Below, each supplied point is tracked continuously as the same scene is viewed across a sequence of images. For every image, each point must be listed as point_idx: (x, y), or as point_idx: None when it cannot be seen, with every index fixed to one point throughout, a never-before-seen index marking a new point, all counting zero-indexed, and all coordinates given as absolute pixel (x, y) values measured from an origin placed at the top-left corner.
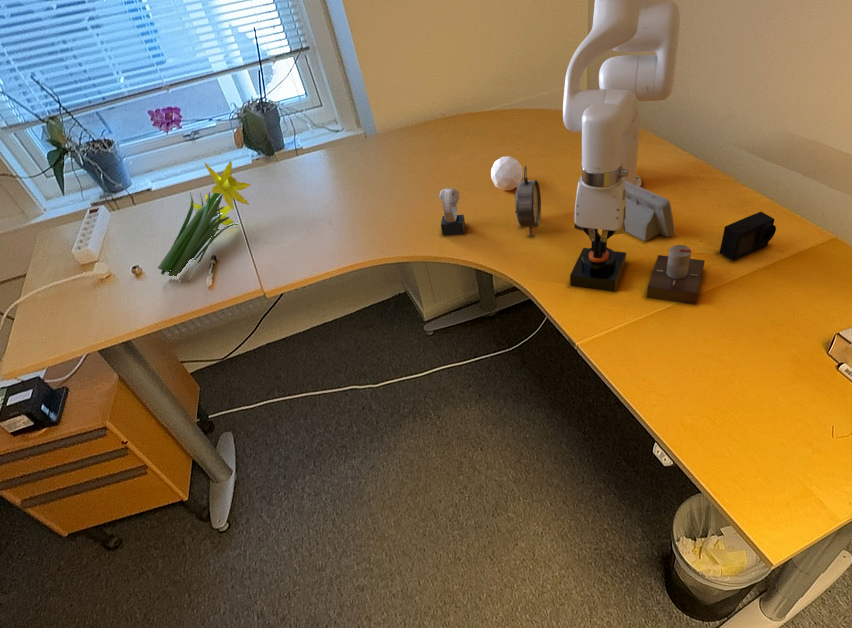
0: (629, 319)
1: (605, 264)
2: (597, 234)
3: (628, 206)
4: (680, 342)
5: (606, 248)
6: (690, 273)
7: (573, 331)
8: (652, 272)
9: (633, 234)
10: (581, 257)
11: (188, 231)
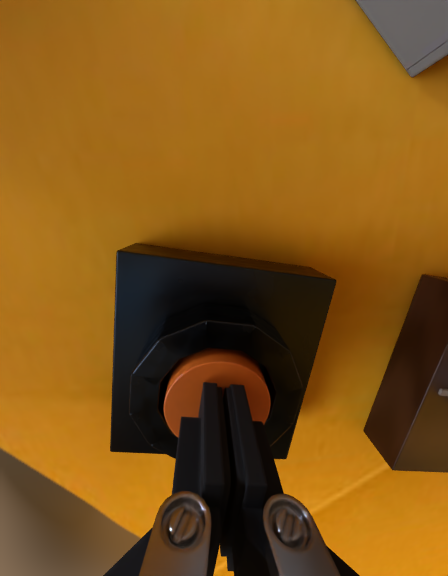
0: (311, 504)
1: None
2: (210, 560)
3: None
4: (412, 542)
5: (263, 424)
6: None
7: None
8: (422, 400)
9: (366, 6)
10: (128, 336)
11: None
